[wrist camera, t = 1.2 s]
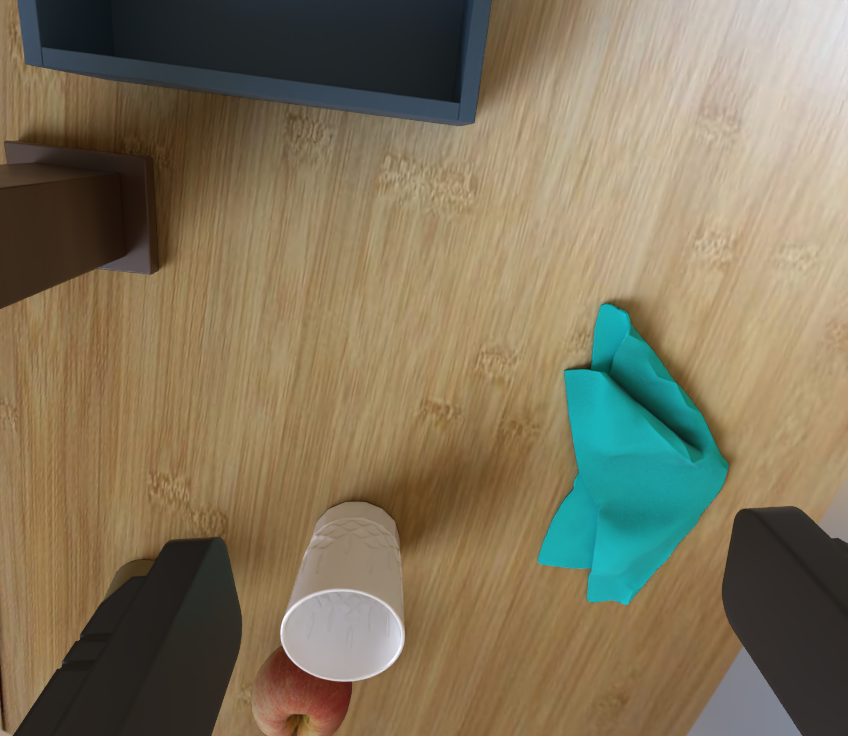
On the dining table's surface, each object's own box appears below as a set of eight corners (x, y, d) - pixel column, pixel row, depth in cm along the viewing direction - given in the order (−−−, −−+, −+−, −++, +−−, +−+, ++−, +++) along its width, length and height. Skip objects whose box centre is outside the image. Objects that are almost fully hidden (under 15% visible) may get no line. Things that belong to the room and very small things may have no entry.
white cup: (366, 589, 48) (355, 699, 38) (287, 542, 46) (255, 645, 36) (426, 528, 45) (430, 629, 36) (346, 475, 43) (328, 567, 34)
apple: (271, 611, 48) (246, 697, 41) (364, 627, 49) (356, 714, 42) (257, 677, 51) (231, 769, 44) (345, 692, 52) (334, 784, 45)
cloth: (683, 604, 49) (695, 625, 47) (524, 598, 48) (529, 619, 46) (772, 311, 39) (793, 321, 37) (575, 300, 39) (585, 309, 37)
